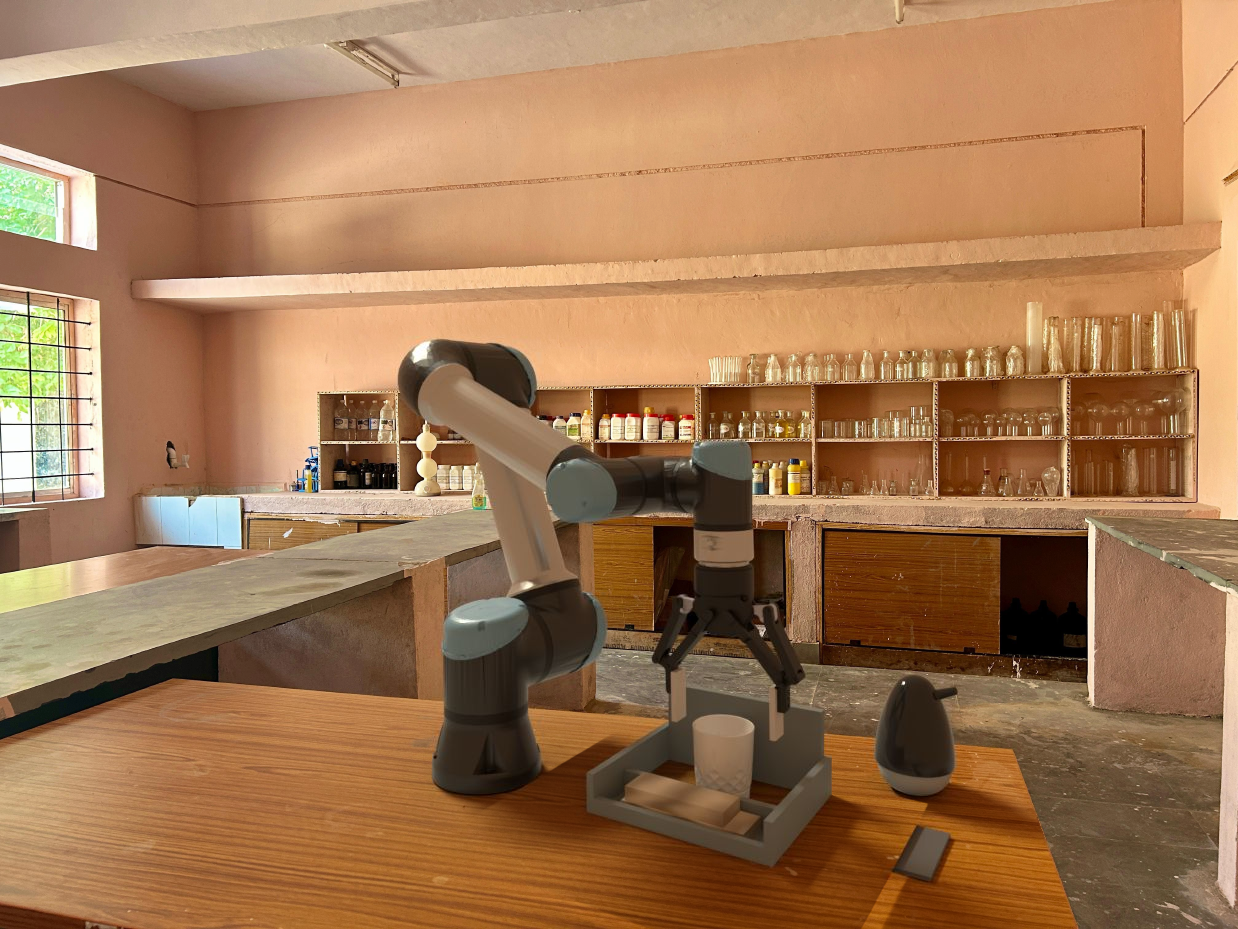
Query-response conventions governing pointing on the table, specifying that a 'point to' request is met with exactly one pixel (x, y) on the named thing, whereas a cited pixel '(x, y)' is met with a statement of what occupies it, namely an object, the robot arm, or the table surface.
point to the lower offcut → (739, 825)
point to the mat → (922, 853)
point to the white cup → (724, 753)
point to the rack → (774, 762)
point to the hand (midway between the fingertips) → (726, 728)
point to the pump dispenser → (915, 737)
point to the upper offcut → (683, 799)
